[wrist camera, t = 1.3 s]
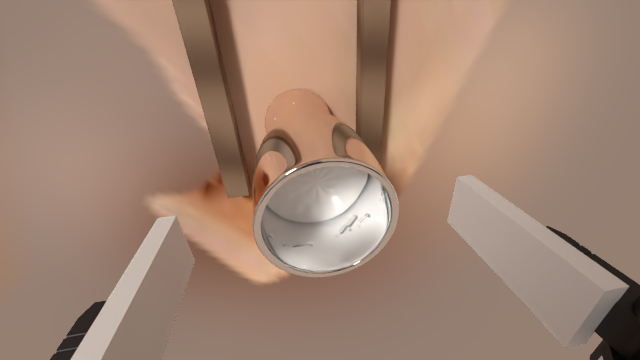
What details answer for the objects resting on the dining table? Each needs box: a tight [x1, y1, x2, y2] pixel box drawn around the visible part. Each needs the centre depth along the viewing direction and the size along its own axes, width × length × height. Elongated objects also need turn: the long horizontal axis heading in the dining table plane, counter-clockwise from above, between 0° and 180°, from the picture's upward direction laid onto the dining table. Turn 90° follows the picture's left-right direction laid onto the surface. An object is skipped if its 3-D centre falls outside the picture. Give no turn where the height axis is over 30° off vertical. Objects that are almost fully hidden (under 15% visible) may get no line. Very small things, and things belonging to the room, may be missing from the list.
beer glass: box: [252, 89, 399, 277], centre depth 18 cm, size 7×7×15 cm
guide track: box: [172, 0, 391, 198], centre depth 20 cm, size 26×15×3 cm, turn 3°
